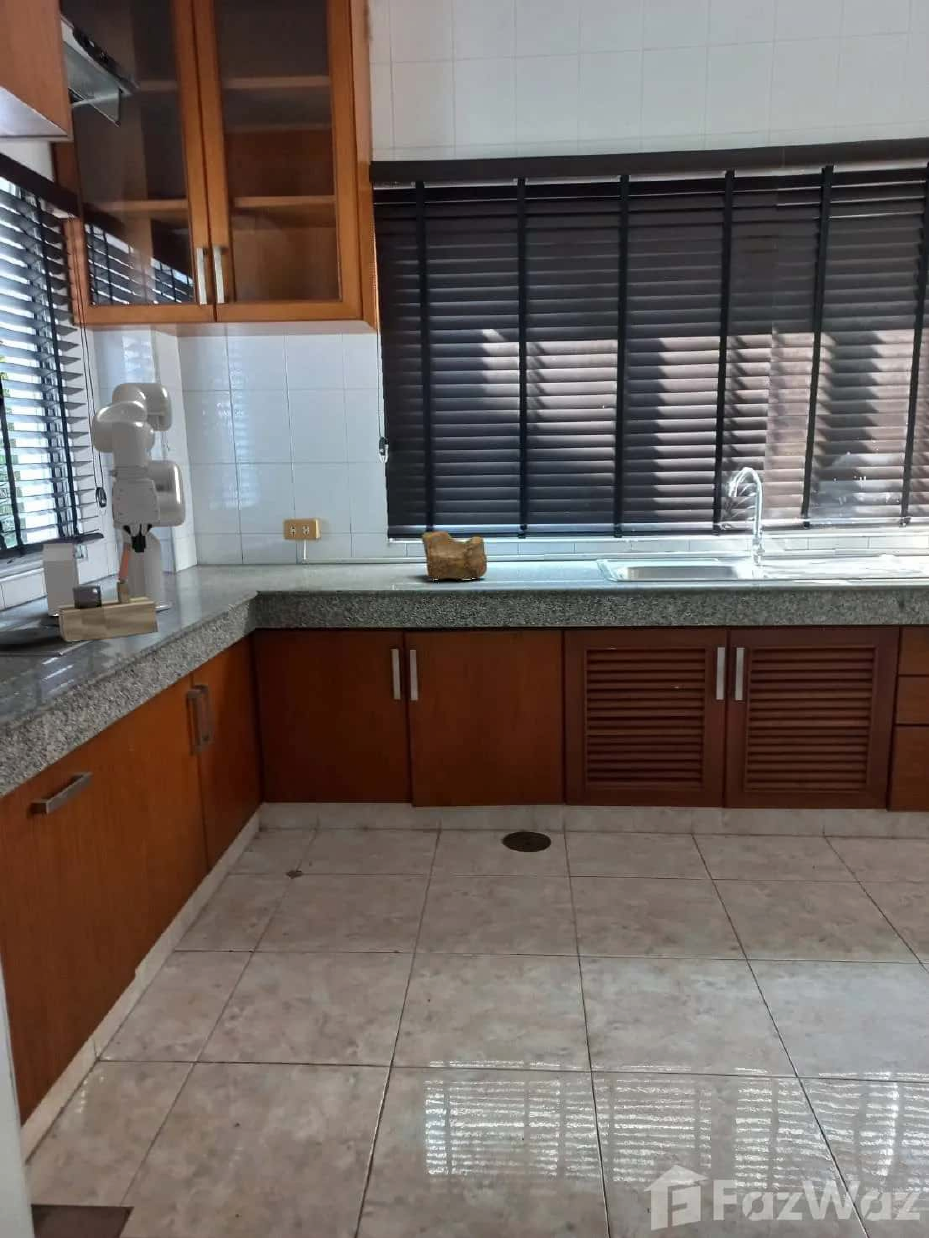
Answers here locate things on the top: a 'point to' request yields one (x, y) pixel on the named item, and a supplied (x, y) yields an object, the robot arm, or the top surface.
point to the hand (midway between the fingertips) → (139, 552)
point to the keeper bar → (125, 562)
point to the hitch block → (109, 618)
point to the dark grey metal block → (87, 597)
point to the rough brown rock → (454, 556)
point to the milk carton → (59, 575)
